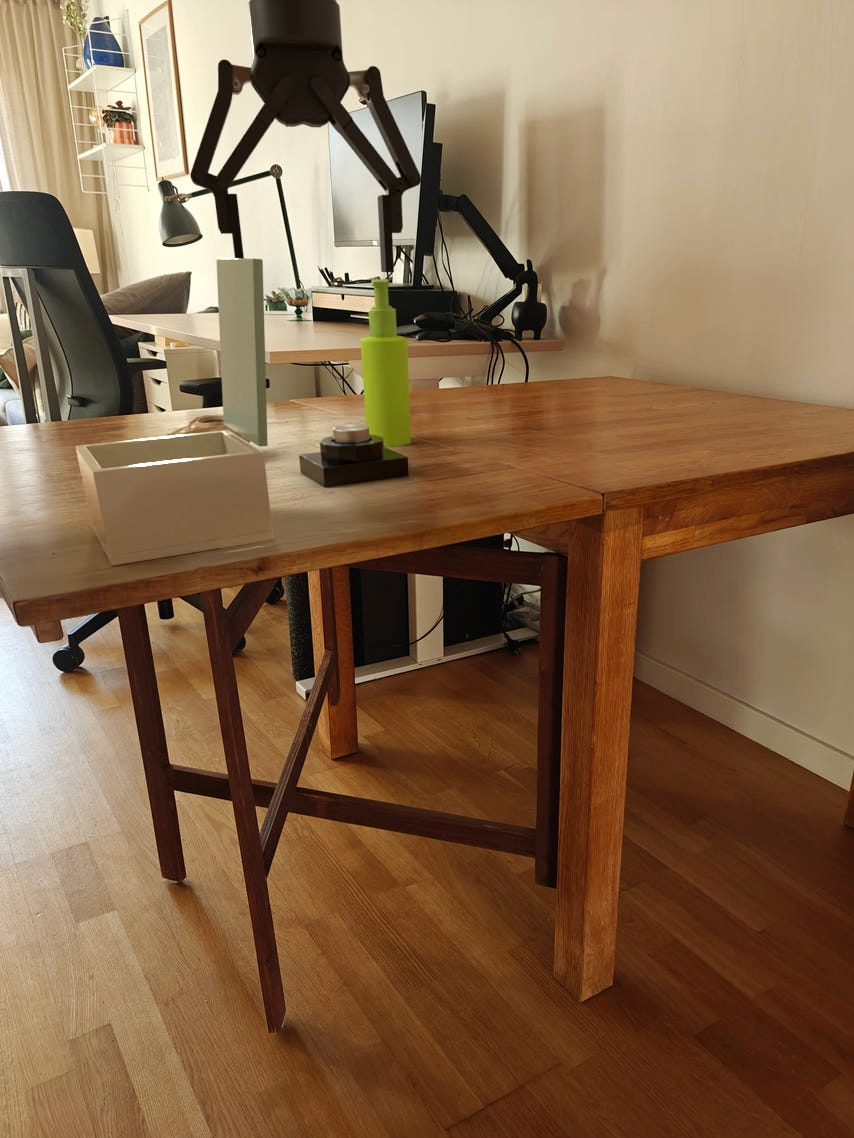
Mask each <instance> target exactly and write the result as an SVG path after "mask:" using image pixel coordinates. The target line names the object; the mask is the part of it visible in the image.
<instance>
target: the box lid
mask: <svg viewBox="0 0 854 1138" xmlns="http://www.w3.org/2000/svg"><path fill="white" fill-rule="evenodd" d="M215 261H216V284H217V302H218V303H217V304H218V327H219V328H218V329H219V346H220V347H219V348H220V350H219V351H220V368H221V369H220V370H221V392H222V394H221V395H222V415H223V418H224V425H225V426H227V427H228V428H230V429H232V430H233V431H235V432H236V433H238V434H240V435H241V436H243V437H245V438H246V439H248V440H250V441H251V442H250V443H253V444H254V445H256V446H257V447H267V446H268V445H269V444H268V409H267V407H268V406H267V374H266V373H267V370H266V368H267V367H266V341H265V340H266V338H265V337H266V336H265V330H266V329H265V297H264V294H265V293H264V261H263V259H262V258H245V257H244V258H235V257H217V258H216V259H215Z"/></svg>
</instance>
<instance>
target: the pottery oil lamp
mask: <svg viewBox="0 0 854 1138" xmlns="http://www.w3.org/2000/svg"><path fill="white" fill-rule="evenodd" d="M223 430H229V431H230V432H232V433H234V434H235V435H237V436H238V437H240V438H242V439H243V440H245V441H247V442H248V443H250V444H251V443H252V442H251V441H250V440H248V439H246V438H245V437H243V436H241V435H240V434H238V433H236V432H235V431H233V430H232V429H230V428H228V427H227V426H225V425H224V418H223V414H205V415H200V416H197V417H195V418H193V419H192V420H190V421H189V422H188V423H187V425H186V426H183V427H180V428H178V429H175V430H173V431H171V432H170V433H167V434H166V435H164V436H163V437H165V436H175V435H185V434H194V433H204V432H214V431H223Z"/></svg>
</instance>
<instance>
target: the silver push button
mask: <svg viewBox="0 0 854 1138" xmlns="http://www.w3.org/2000/svg"><path fill="white" fill-rule="evenodd" d="M332 436H333V437H334V443H339V444H358V443H366V442H369V441H370V436H369V427H368V426H366V424H358V423H352V424H350V423H349V424H339V425H336V426H334V427H333V428H332Z"/></svg>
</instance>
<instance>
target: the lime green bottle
mask: <svg viewBox="0 0 854 1138" xmlns="http://www.w3.org/2000/svg"><path fill="white" fill-rule="evenodd" d="M370 284H371V287H373V290H374V291H373V293H374V294H373V295H374V305H373V306H372V307H371V308H369V309H368V322H369V323H368V324H369V325H368V326H369V336H364V337H362V338H360V339H359V340H360V355H361V371H362V384H363V401H364V416H365V417H364V418H365V425H366V426H368V427H369V434H370V435H377V436H380V437H382V438H383V441H384V447H386V448H391V447H392V448H393V447H401V446H402V447H403V446H406V445H409V444H411V443H412V425H411V424H412V420H411V401H410V399H411V398H410V378H409V377H410V376H409V353H408V352H409V351H408V338H407V337H404V336H401V335H398V330H397V329H398V328H397V327H398V326H397V311H396V310H397V309H396V308H394V307H393V306H392V305H389V304H390V303H389V287H390V280H389V279H388V278H376V279H375V278H372V279H371V282H370Z"/></svg>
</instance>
